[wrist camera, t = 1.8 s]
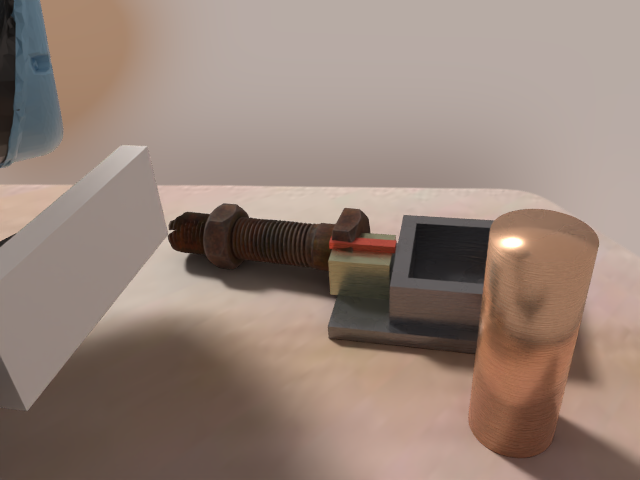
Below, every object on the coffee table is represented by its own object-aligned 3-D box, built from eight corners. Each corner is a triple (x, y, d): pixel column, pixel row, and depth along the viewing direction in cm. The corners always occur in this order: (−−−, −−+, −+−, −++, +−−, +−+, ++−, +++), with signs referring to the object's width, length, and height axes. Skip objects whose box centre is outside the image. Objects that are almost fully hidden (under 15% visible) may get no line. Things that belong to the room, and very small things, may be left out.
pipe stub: (467, 451, 31) (490, 260, 24) (468, 387, 34) (489, 206, 28) (558, 463, 30) (607, 269, 23) (549, 396, 33) (590, 211, 27)
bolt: (191, 264, 50) (367, 286, 45) (156, 271, 45) (349, 297, 40) (195, 194, 49) (373, 209, 44) (160, 193, 44) (355, 210, 40)
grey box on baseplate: (318, 337, 39) (313, 283, 36) (345, 250, 47) (343, 202, 44) (527, 359, 36) (537, 303, 34) (518, 263, 44) (526, 212, 42)
